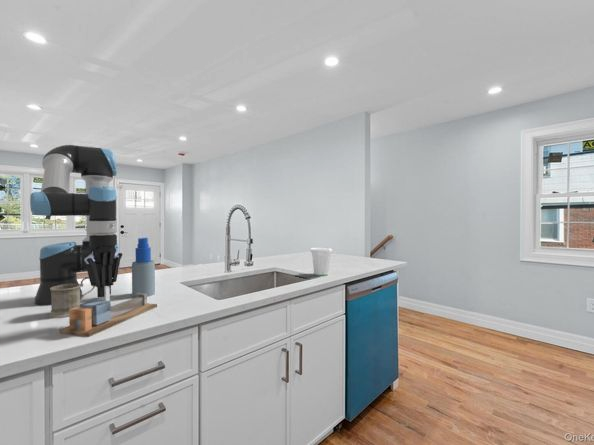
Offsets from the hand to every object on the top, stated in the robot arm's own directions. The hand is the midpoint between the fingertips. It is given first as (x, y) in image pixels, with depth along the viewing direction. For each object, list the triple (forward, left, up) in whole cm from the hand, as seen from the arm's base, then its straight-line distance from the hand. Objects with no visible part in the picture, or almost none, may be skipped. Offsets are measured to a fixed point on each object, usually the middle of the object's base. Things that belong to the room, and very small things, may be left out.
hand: (104, 305), depth 96 cm
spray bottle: (-12, +31, -6) cm, 34 cm away
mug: (-20, +6, -6) cm, 22 cm away
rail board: (0, +4, -5) cm, 7 cm away
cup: (+57, +93, -6) cm, 109 cm away
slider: (0, -3, -4) cm, 5 cm away
